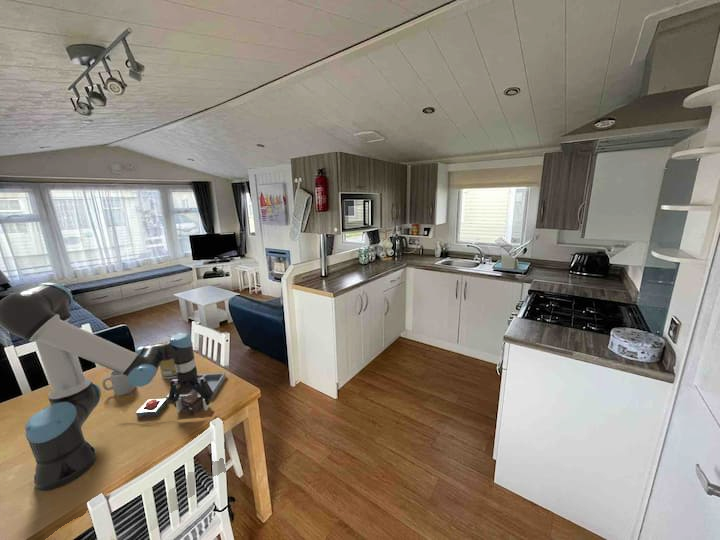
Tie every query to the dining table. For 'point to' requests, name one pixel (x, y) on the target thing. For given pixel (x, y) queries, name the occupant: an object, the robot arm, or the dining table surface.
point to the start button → (151, 404)
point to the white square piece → (145, 412)
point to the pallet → (213, 382)
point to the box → (192, 404)
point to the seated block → (184, 389)
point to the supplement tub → (168, 369)
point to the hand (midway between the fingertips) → (194, 411)
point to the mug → (118, 384)
